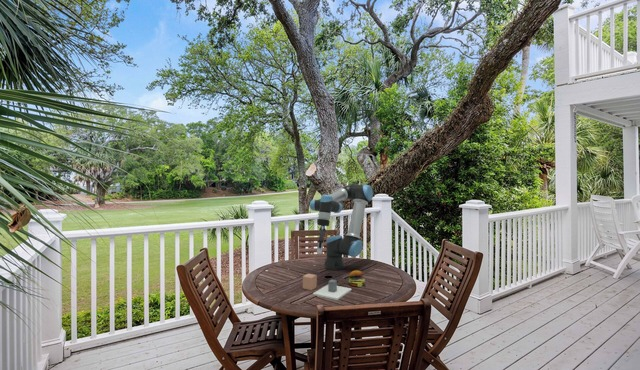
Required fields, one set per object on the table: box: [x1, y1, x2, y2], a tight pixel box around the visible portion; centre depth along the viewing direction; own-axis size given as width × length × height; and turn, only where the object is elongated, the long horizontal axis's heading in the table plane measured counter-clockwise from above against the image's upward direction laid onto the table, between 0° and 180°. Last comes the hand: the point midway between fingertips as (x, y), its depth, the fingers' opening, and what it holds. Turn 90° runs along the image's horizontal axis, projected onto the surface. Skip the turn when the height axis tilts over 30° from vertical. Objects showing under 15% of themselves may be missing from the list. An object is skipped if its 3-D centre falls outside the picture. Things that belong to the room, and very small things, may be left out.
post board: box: [312, 279, 352, 301], centre depth 201 cm, size 18×16×7 cm
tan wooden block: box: [302, 273, 318, 291], centre depth 209 cm, size 6×6×8 cm
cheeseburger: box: [348, 269, 366, 288], centre depth 215 cm, size 10×11×10 cm
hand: (319, 253), depth 213 cm, fingers open, 13 cm apart
